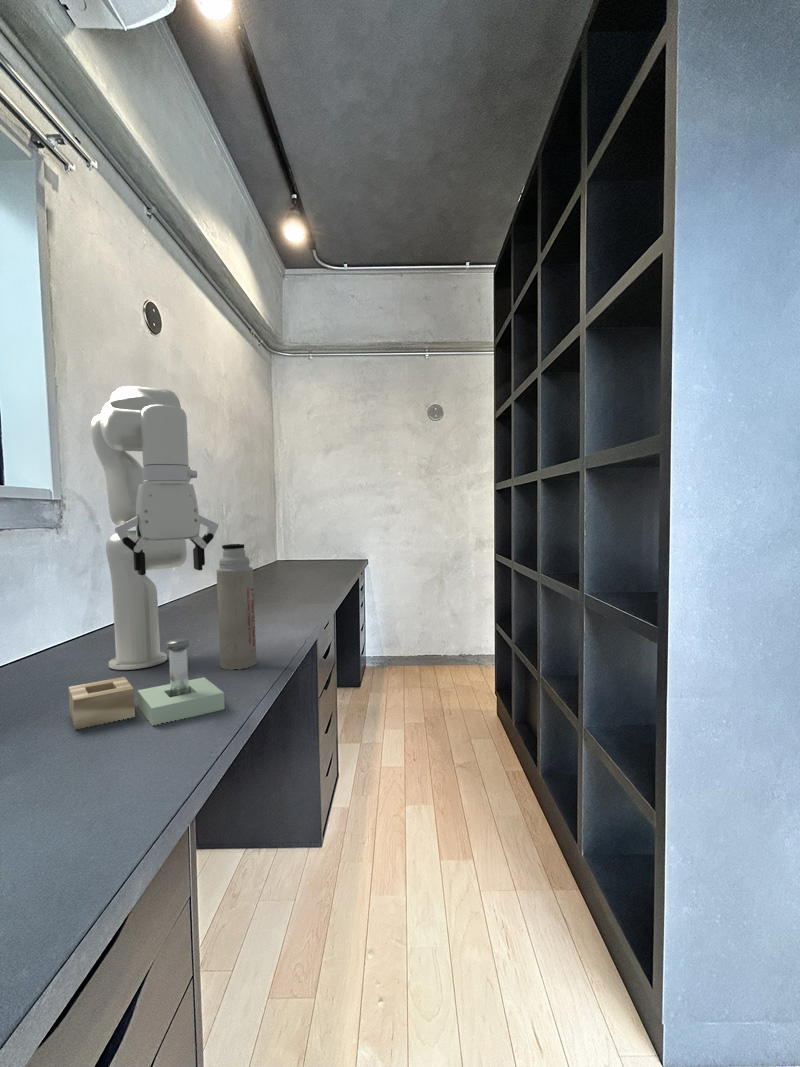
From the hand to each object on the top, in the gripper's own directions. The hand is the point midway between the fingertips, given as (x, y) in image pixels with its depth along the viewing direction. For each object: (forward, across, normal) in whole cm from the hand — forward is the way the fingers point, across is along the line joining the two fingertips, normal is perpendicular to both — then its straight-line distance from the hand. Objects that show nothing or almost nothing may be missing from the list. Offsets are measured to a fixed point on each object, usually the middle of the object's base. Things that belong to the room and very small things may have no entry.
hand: (170, 572), depth 99 cm
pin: (+25, 0, +1) cm, 25 cm away
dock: (+25, 0, +1) cm, 25 cm away
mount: (+25, +12, -4) cm, 28 cm away
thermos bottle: (+25, -19, -20) cm, 37 cm away
